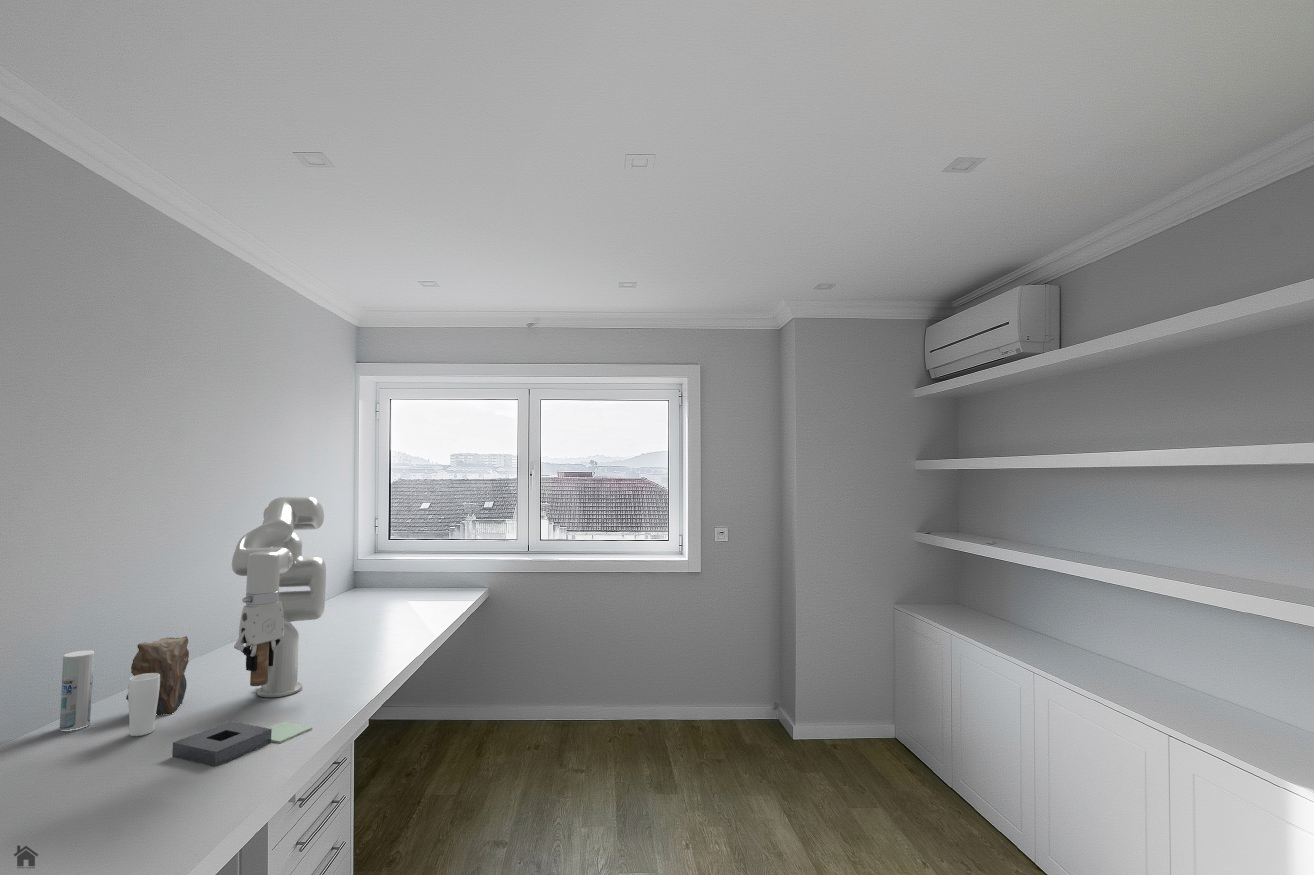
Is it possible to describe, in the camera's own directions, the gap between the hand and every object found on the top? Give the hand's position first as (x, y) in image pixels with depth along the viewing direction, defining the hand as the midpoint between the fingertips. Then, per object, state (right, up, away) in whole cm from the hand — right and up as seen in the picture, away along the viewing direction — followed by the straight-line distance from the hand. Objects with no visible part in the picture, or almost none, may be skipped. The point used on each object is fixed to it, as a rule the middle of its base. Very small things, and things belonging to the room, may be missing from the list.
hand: (259, 667), depth 173 cm
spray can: (-54, -19, +6) cm, 58 cm away
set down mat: (+4, -19, +4) cm, 20 cm away
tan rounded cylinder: (0, -4, 0) cm, 4 cm away
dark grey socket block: (-5, -18, -7) cm, 20 cm away
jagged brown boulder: (-41, -20, +19) cm, 49 cm away
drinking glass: (-33, -19, +3) cm, 38 cm away
